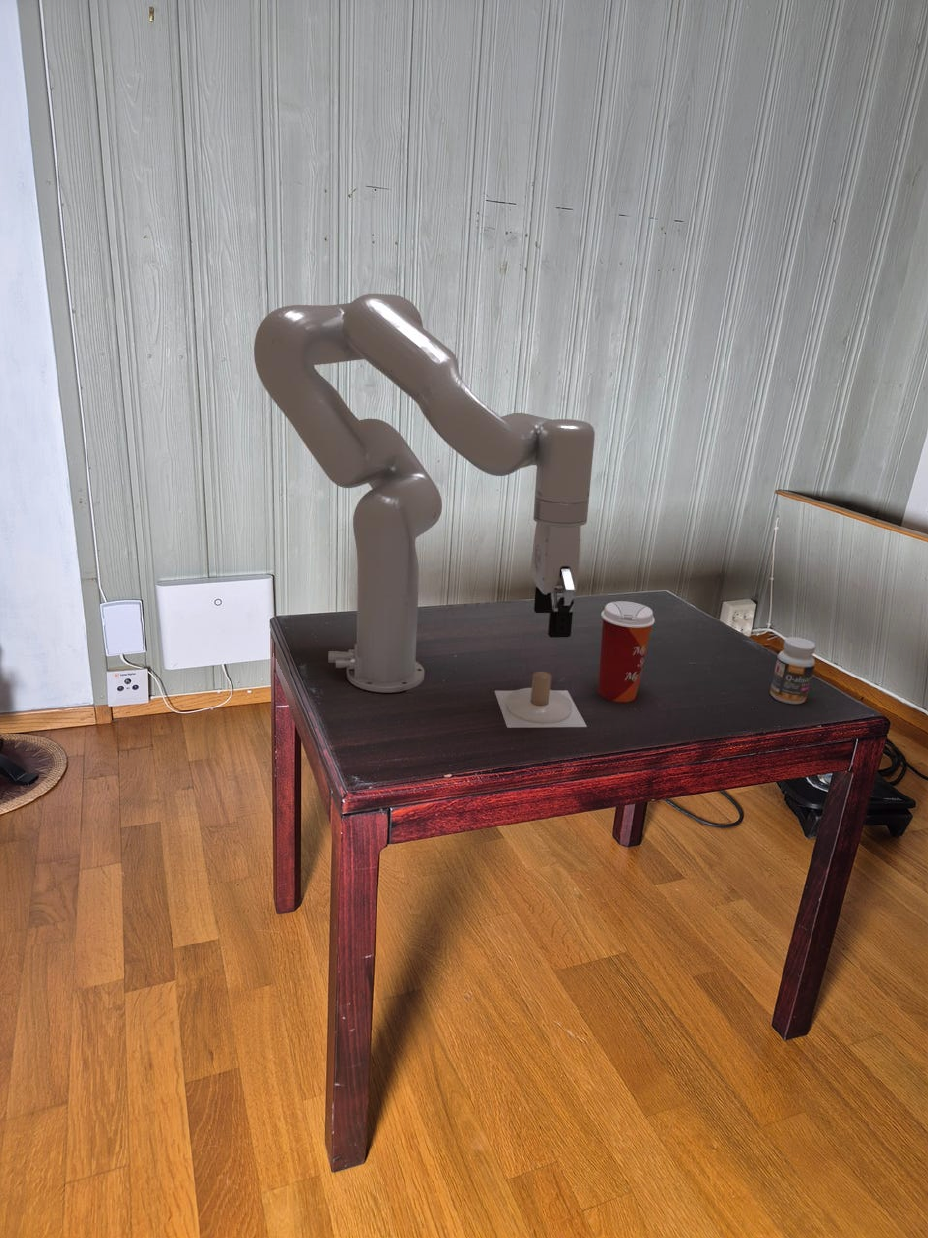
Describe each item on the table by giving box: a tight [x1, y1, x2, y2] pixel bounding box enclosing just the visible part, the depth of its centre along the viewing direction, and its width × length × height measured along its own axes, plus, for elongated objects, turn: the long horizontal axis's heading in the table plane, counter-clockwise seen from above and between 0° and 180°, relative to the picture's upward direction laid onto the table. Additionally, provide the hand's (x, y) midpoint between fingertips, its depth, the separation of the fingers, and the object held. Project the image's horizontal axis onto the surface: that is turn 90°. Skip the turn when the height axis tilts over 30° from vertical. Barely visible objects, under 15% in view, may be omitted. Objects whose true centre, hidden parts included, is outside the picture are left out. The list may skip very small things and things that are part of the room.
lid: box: [507, 671, 572, 724], centre depth 128 cm, size 10×10×6 cm
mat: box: [494, 689, 588, 729], centre depth 129 cm, size 12×12×1 cm
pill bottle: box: [769, 636, 816, 705], centre depth 137 cm, size 6×6×10 cm
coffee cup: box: [598, 600, 655, 703], centre depth 133 cm, size 8×8×15 cm
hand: (551, 624), depth 124 cm, fingers open, 9 cm apart
